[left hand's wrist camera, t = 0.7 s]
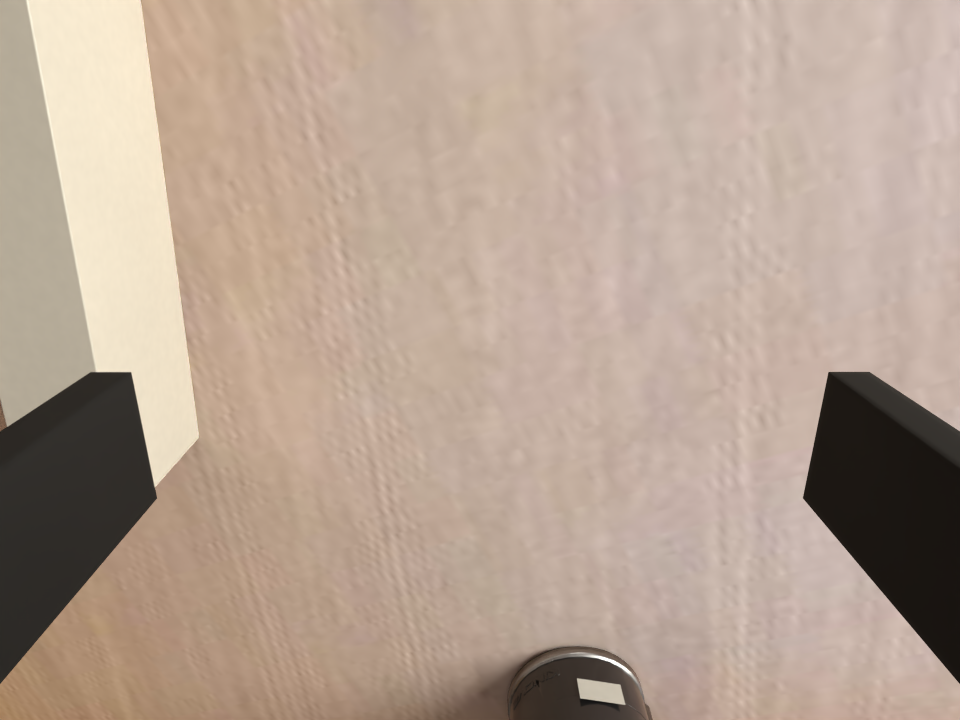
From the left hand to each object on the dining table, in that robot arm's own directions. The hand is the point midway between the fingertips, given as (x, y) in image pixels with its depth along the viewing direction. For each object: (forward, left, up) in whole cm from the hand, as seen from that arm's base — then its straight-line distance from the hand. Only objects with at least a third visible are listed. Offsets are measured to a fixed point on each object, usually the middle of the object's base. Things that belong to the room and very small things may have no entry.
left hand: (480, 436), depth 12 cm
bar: (0, -19, -24) cm, 30 cm away
